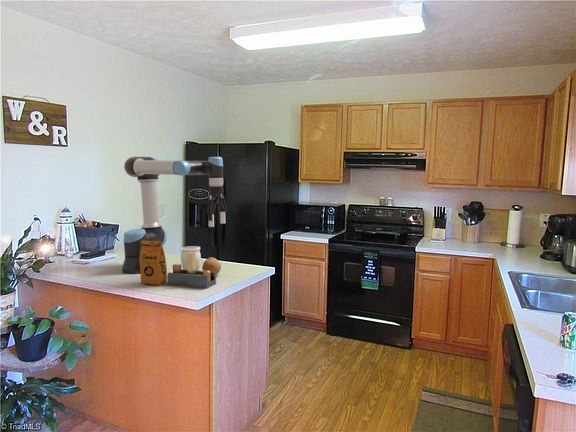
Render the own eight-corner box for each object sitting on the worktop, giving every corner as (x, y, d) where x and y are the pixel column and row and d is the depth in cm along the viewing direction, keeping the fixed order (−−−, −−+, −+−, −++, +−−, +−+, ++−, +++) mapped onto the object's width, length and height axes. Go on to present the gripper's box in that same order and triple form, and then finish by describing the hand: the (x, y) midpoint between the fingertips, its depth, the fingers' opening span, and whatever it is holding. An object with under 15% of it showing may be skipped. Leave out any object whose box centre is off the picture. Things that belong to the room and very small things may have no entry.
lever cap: (180, 280, 212) (179, 254, 210) (186, 277, 217) (185, 252, 215) (198, 281, 209) (197, 255, 207) (203, 279, 213) (202, 253, 212)
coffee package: (159, 287, 209) (157, 242, 206) (137, 285, 212) (135, 241, 210) (170, 281, 218) (168, 239, 216) (149, 280, 222) (147, 238, 219)
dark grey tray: (168, 284, 212) (167, 266, 211) (178, 280, 221) (177, 262, 220) (206, 288, 205) (206, 269, 204) (216, 283, 213) (215, 265, 212)
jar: (204, 273, 236) (204, 246, 234) (194, 277, 226) (193, 249, 224) (188, 271, 239) (187, 245, 237) (177, 276, 229) (176, 248, 228)
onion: (222, 277, 226) (221, 258, 225) (203, 278, 223) (202, 260, 222) (220, 273, 235) (219, 255, 234) (201, 274, 233) (201, 256, 232)
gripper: (211, 187, 215) (212, 228, 218) (232, 184, 239) (233, 222, 241) (198, 186, 217) (199, 227, 220) (220, 184, 241) (221, 221, 243)
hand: (217, 225), depth 230 cm, fingers open, 13 cm apart
